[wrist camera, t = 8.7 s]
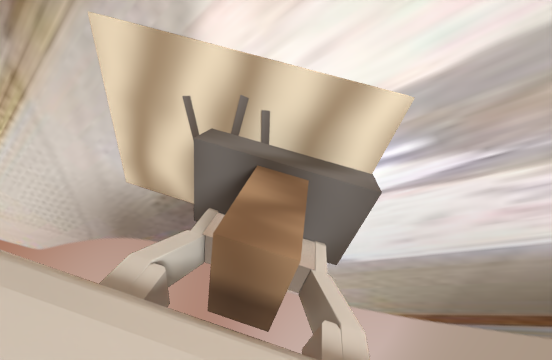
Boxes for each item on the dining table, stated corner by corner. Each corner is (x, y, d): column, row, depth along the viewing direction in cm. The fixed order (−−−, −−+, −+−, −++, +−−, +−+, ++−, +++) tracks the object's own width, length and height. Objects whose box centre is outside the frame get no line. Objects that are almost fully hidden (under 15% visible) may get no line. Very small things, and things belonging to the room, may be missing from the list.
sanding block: (372, 174, 11) (430, 290, 5) (334, 242, 14) (344, 363, 8) (211, 128, 12) (103, 186, 6) (208, 203, 15) (134, 291, 9)
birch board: (405, 94, 13) (415, 97, 12) (329, 236, 20) (330, 248, 19) (108, 16, 14) (86, 11, 13) (138, 175, 22) (125, 182, 20)
